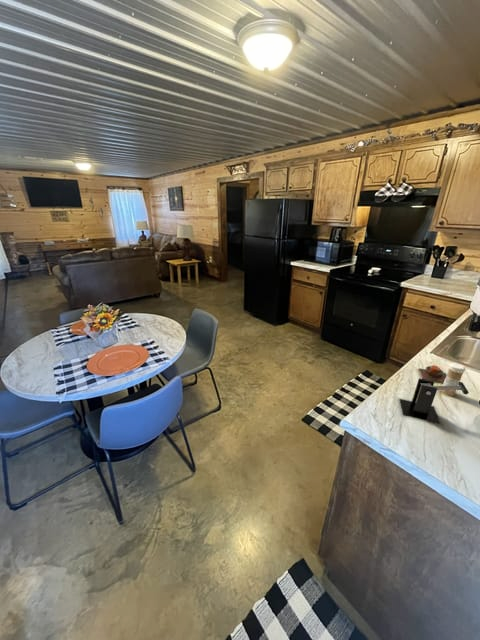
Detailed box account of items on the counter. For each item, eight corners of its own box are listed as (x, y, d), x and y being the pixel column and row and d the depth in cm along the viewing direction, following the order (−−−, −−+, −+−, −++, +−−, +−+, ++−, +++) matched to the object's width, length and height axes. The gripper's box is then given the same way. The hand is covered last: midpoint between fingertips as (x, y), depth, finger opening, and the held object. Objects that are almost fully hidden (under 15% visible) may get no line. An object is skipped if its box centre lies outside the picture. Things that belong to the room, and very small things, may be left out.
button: (437, 369, 115) (438, 366, 114) (439, 373, 112) (441, 370, 111) (429, 368, 116) (430, 364, 115) (430, 371, 113) (432, 368, 112)
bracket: (432, 409, 96) (443, 380, 91) (439, 426, 89) (451, 395, 84) (398, 401, 100) (407, 373, 95) (402, 417, 92) (411, 387, 87)
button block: (443, 375, 116) (446, 368, 115) (449, 386, 109) (452, 379, 107) (417, 370, 119) (419, 364, 118) (421, 381, 112) (424, 374, 111)
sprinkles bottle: (446, 390, 106) (457, 361, 101) (457, 397, 102) (468, 368, 97) (436, 391, 106) (447, 363, 100) (447, 398, 101) (458, 369, 96)
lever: (463, 386, 88) (463, 380, 87) (468, 395, 84) (468, 389, 83) (420, 386, 93) (419, 380, 92) (423, 395, 89) (422, 389, 88)
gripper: (516, 290, 85) (494, 340, 92) (495, 280, 98) (477, 325, 105) (487, 288, 88) (468, 337, 95) (470, 278, 101) (455, 322, 108)
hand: (473, 330), depth 100 cm, fingers closed
